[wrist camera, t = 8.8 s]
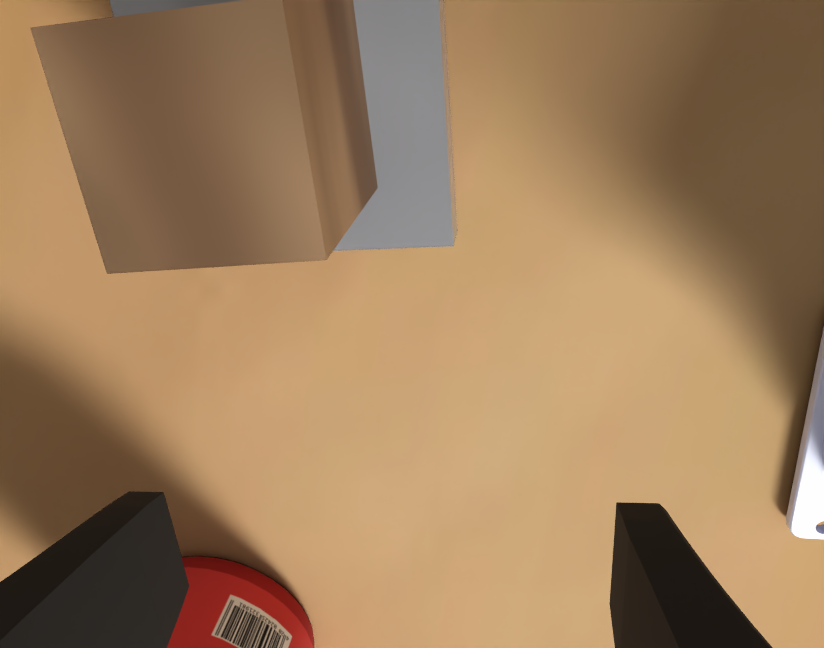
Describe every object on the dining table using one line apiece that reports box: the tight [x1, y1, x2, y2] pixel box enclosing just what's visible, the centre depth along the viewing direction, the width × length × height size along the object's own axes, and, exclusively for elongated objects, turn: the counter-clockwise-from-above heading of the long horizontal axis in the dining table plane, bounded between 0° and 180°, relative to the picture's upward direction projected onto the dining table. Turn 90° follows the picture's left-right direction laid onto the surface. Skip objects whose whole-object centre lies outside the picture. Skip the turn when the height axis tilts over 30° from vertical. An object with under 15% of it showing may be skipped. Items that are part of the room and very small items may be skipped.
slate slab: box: [110, 0, 457, 251], centre depth 18 cm, size 8×8×2 cm
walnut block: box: [31, 0, 378, 274], centre depth 15 cm, size 4×4×6 cm
